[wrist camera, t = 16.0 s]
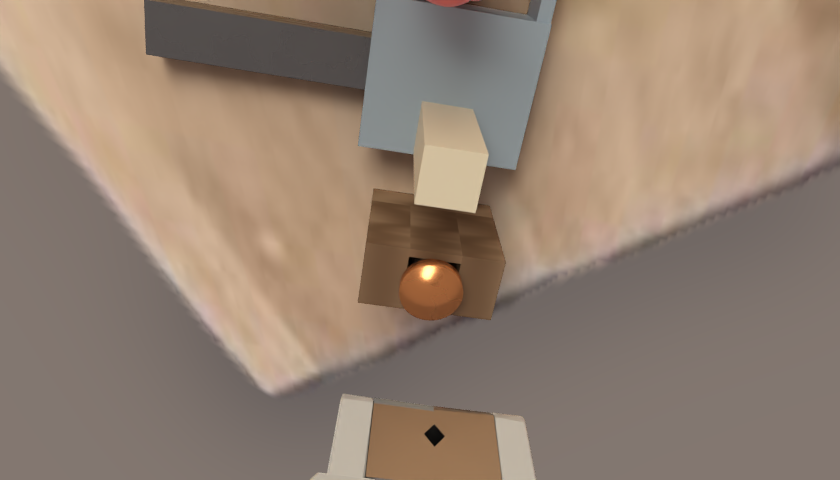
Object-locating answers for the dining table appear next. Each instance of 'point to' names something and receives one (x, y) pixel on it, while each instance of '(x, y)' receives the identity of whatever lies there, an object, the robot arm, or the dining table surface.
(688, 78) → the dining table surface
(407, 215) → the box
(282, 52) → the rail
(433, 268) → the button
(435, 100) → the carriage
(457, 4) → the figurine
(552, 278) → the dining table surface
